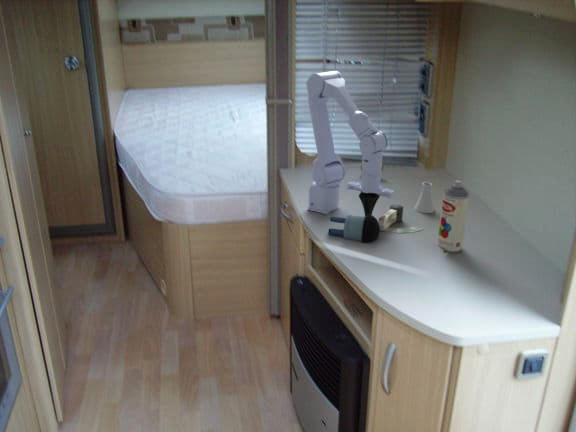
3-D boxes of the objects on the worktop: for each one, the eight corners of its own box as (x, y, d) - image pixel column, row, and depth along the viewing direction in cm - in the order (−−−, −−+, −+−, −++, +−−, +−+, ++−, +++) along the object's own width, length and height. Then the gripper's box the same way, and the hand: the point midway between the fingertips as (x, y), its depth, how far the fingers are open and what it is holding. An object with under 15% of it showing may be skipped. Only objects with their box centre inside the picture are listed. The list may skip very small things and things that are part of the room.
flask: (435, 217, 190) (439, 188, 186) (412, 215, 191) (415, 186, 187) (435, 209, 196) (438, 181, 193) (412, 207, 198) (415, 179, 194)
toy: (328, 241, 177) (378, 248, 172) (322, 234, 169) (375, 242, 164) (333, 214, 178) (383, 220, 174) (328, 206, 170) (380, 212, 166)
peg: (392, 216, 187) (393, 202, 185) (404, 219, 185) (405, 205, 183) (372, 231, 176) (374, 216, 174) (385, 234, 174) (386, 219, 172)
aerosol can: (432, 245, 170) (439, 179, 163) (451, 241, 173) (460, 176, 165) (447, 255, 164) (455, 186, 157) (466, 251, 167) (476, 183, 159)
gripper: (343, 171, 177) (341, 214, 182) (388, 181, 170) (384, 224, 175) (354, 166, 183) (351, 207, 188) (398, 174, 175) (394, 217, 180)
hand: (368, 215), depth 182 cm, fingers closed
